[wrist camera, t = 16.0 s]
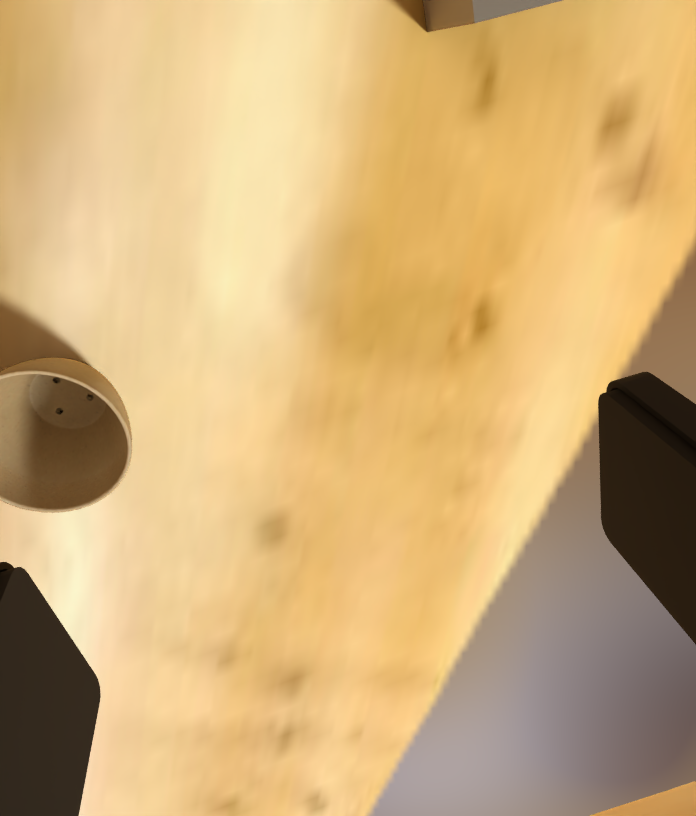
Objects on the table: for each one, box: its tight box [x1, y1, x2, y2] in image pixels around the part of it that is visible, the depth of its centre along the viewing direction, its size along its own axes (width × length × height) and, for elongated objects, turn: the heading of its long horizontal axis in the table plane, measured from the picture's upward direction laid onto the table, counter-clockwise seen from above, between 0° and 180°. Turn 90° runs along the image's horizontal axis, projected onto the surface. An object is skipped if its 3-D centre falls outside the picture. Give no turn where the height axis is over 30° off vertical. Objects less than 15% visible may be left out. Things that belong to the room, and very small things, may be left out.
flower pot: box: [0, 358, 132, 513], centre depth 41 cm, size 10×10×7 cm
